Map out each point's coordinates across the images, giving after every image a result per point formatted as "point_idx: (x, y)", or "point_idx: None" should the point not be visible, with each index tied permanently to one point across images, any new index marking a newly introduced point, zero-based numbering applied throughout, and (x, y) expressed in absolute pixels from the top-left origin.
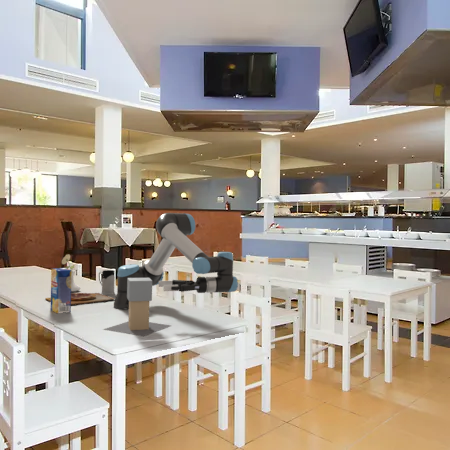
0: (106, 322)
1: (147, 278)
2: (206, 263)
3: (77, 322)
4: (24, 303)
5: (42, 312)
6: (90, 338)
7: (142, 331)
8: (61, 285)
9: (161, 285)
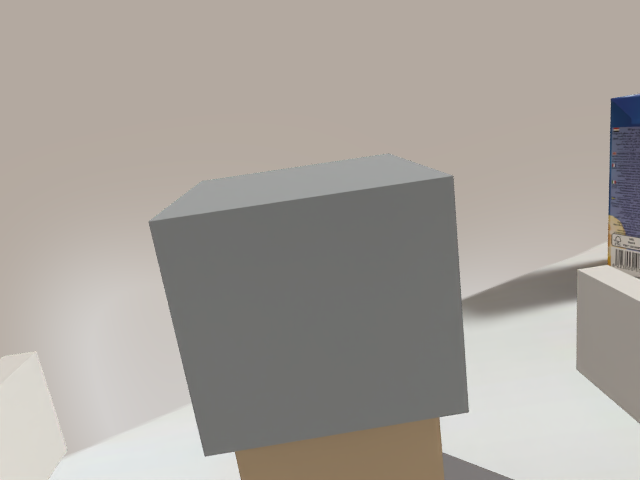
0: (511, 401)
1: (366, 183)
2: None
3: (478, 328)
4: None
5: (599, 250)
6: None
7: None
8: (623, 162)
9: (610, 375)
